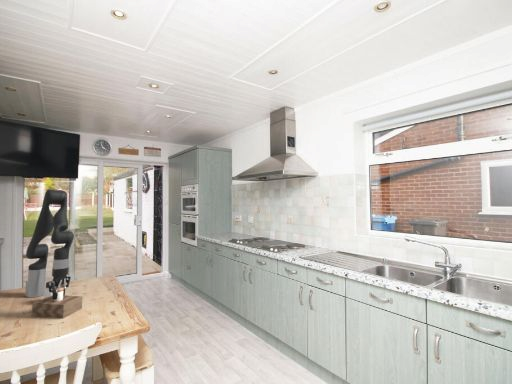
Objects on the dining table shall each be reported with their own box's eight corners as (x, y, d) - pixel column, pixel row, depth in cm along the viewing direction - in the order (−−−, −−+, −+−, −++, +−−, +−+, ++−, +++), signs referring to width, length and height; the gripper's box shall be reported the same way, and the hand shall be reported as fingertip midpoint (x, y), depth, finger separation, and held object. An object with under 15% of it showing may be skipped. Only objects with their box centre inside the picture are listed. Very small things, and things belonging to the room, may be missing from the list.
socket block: (31, 316, 146) (32, 303, 147) (52, 306, 160) (53, 294, 161) (63, 318, 145) (63, 304, 145) (81, 308, 159) (82, 296, 159)
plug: (51, 313, 151) (53, 289, 152) (57, 310, 155) (58, 287, 155) (58, 313, 150) (59, 289, 151) (63, 310, 154) (65, 287, 155)
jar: (58, 303, 166) (59, 283, 167) (42, 304, 163) (43, 284, 164) (62, 298, 174) (64, 279, 175) (47, 299, 172) (49, 280, 172)
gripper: (64, 264, 161) (62, 293, 160) (43, 269, 147) (41, 301, 146) (76, 264, 161) (74, 294, 160) (56, 270, 147) (54, 302, 146)
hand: (58, 297), depth 153 cm, fingers open, 4 cm apart
